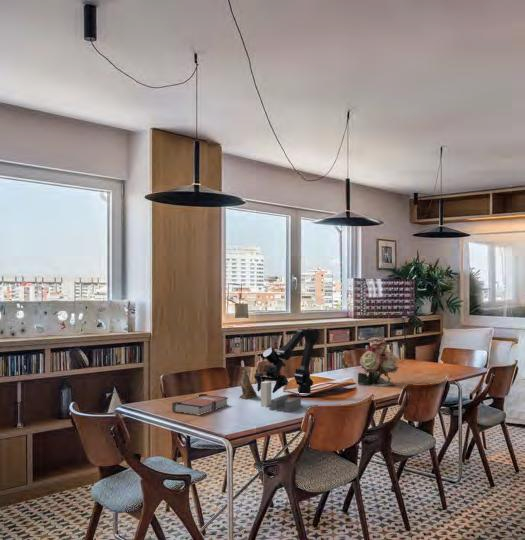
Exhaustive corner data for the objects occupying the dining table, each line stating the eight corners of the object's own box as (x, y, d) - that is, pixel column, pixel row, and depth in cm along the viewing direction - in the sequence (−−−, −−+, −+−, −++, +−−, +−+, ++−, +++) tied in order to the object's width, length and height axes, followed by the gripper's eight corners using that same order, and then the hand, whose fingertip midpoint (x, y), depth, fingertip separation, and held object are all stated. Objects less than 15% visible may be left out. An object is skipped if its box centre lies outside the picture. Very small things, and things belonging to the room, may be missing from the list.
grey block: (265, 404, 304) (265, 381, 304) (271, 404, 302) (271, 381, 303) (260, 406, 300) (260, 382, 300) (266, 406, 298) (266, 383, 298)
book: (200, 416, 280) (200, 406, 280) (172, 412, 288) (172, 402, 288) (229, 406, 302) (229, 396, 303) (202, 402, 311) (202, 393, 311)
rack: (282, 404, 303) (282, 395, 303) (302, 407, 296) (302, 397, 297) (269, 409, 291) (269, 400, 291) (289, 412, 284) (289, 402, 285)
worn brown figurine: (245, 403, 317) (241, 373, 314) (238, 402, 321) (234, 372, 318) (258, 396, 326) (254, 366, 324) (251, 394, 330) (247, 365, 327)
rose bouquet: (357, 387, 351) (357, 338, 351) (358, 379, 379) (357, 334, 380) (400, 388, 346) (399, 339, 347) (397, 380, 375) (396, 334, 376)
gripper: (255, 358, 311) (244, 381, 301) (285, 360, 301) (275, 384, 291) (263, 370, 317) (252, 393, 307) (292, 373, 307) (282, 397, 298)
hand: (265, 391), depth 301 cm, fingers open, 9 cm apart
